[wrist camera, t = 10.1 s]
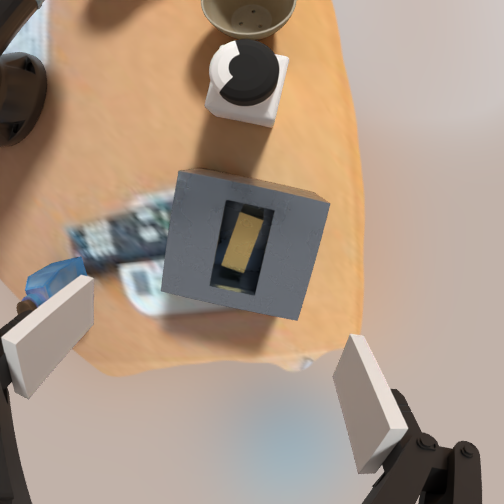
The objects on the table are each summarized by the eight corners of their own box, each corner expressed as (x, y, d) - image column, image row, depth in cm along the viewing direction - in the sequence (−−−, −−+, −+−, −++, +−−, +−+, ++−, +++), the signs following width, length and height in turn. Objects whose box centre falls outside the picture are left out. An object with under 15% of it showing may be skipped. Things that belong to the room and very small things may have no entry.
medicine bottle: (285, 74, 34) (294, 39, 23) (272, 128, 36) (276, 114, 25) (227, 62, 34) (212, 25, 23) (214, 116, 36) (192, 98, 25)
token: (227, 249, 40) (221, 265, 34) (243, 204, 38) (240, 212, 33) (246, 256, 40) (243, 273, 34) (263, 211, 39) (263, 220, 33)
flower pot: (289, -9, 31) (293, -37, 24) (293, 55, 34) (298, 34, 27) (211, -7, 31) (202, -34, 24) (210, 57, 34) (199, 37, 27)
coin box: (183, 260, 41) (160, 291, 32) (200, 167, 38) (178, 170, 28) (290, 284, 42) (297, 320, 32) (314, 192, 38) (330, 203, 29)
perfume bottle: (51, 263, 42) (2, 292, 31) (81, 256, 42) (32, 286, 30) (64, 300, 44) (20, 336, 33) (94, 296, 43) (51, 335, 32)
